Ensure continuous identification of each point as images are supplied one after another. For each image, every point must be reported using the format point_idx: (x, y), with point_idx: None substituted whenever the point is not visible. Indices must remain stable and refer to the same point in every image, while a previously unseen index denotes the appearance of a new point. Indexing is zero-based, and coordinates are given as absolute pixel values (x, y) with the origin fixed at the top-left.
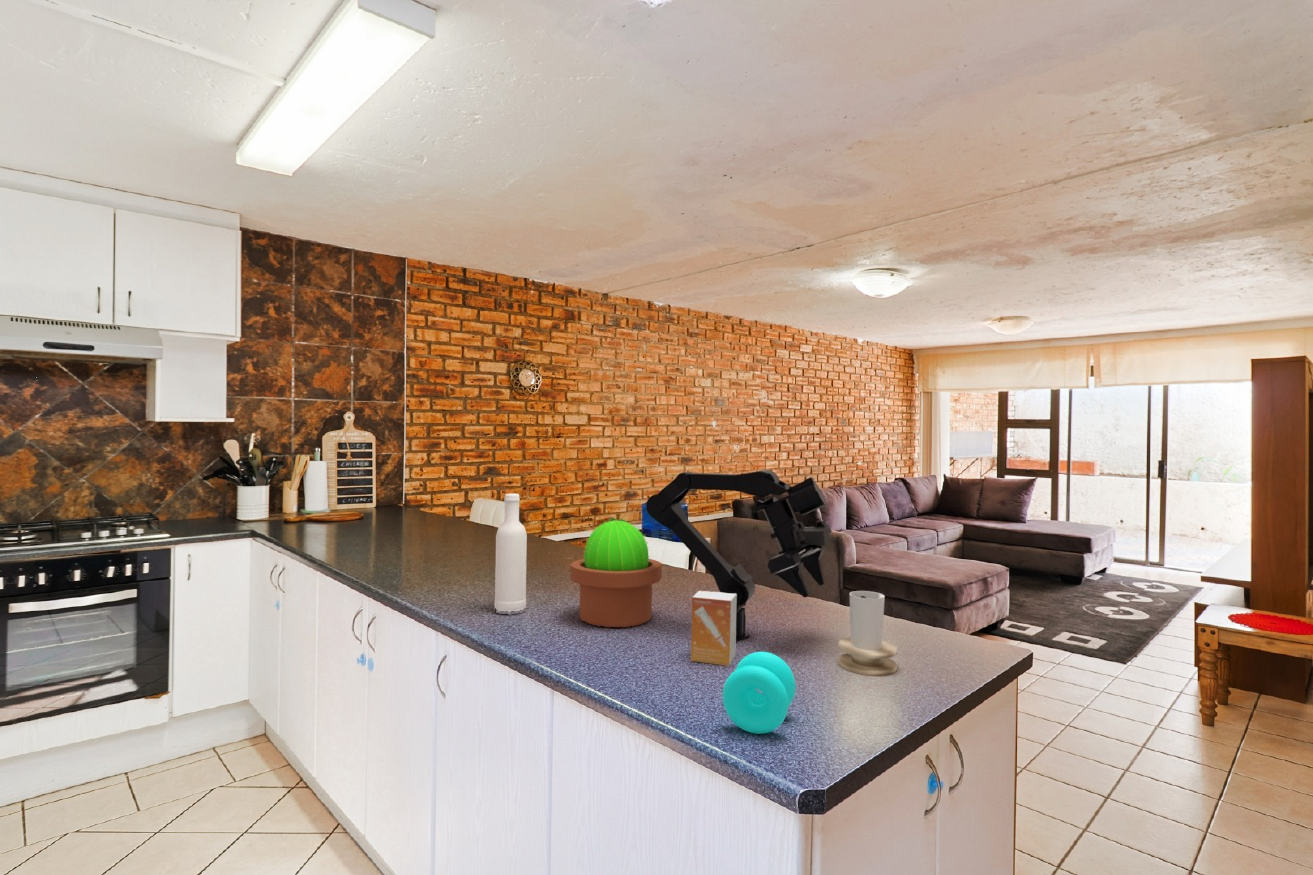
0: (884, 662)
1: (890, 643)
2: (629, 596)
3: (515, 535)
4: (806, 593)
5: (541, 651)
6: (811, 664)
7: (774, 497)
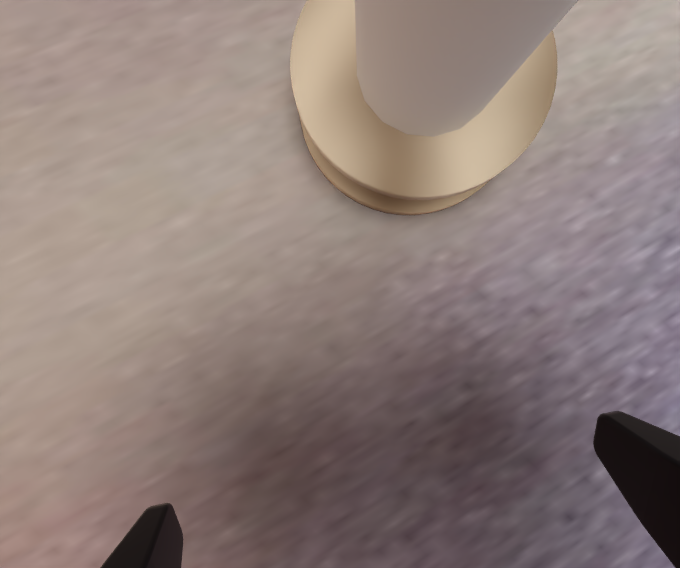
0: None
1: (312, 2)
2: None
3: None
4: (652, 426)
5: None
6: (558, 266)
7: None
